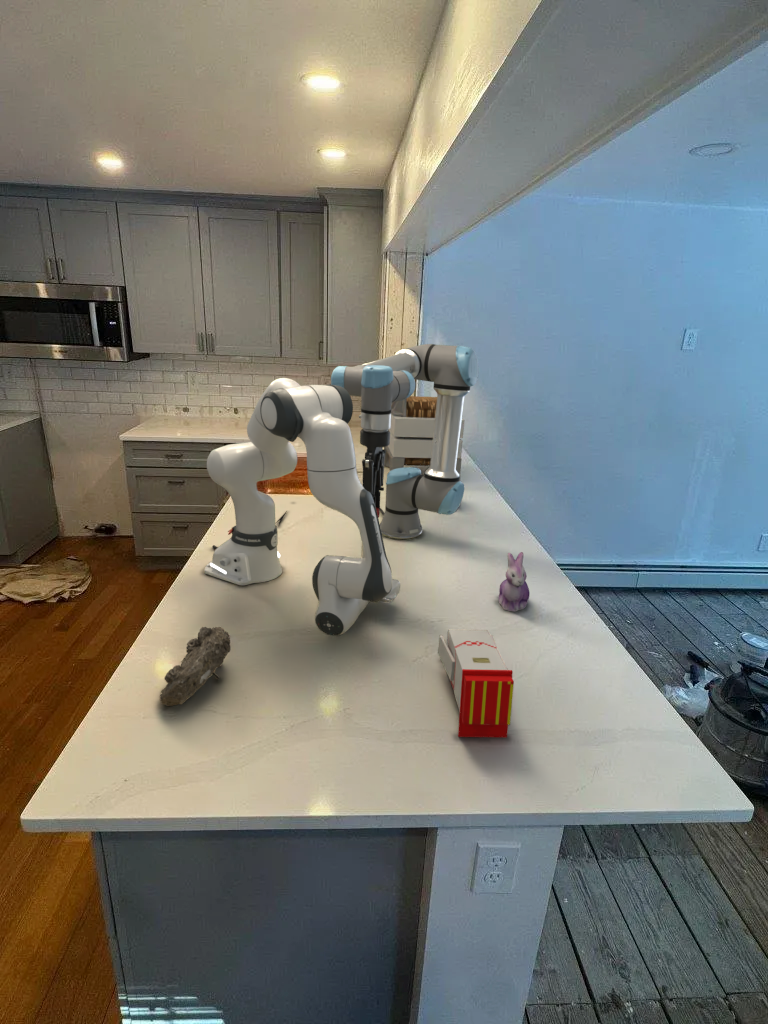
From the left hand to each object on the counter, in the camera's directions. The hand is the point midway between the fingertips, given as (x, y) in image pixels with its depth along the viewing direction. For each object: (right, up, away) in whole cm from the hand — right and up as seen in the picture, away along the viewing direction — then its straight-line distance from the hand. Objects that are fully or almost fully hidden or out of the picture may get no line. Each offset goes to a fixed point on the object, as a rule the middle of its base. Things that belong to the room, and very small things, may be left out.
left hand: (370, 572), depth 156 cm
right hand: (+1, +15, -6) cm, 17 cm away
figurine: (+39, -9, -1) cm, 40 cm away
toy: (+22, -21, -38) cm, 48 cm away
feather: (-33, +16, +57) cm, 68 cm away
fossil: (-35, -18, -37) cm, 54 cm away
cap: (+1, +17, -7) cm, 19 cm away
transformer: (+21, +35, +119) cm, 126 cm away
